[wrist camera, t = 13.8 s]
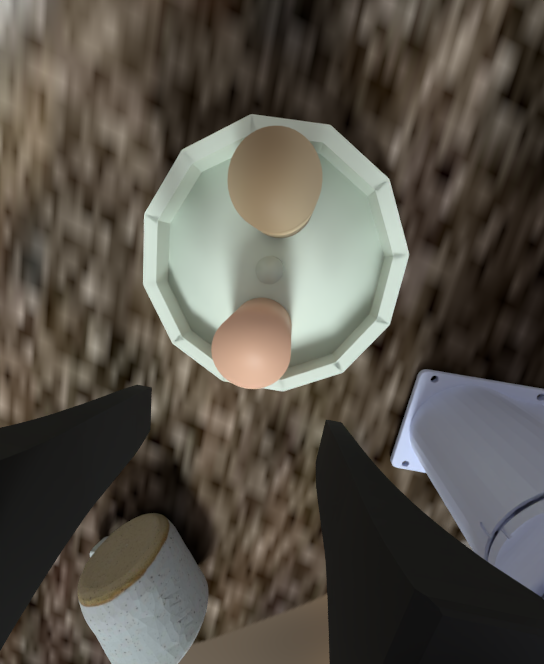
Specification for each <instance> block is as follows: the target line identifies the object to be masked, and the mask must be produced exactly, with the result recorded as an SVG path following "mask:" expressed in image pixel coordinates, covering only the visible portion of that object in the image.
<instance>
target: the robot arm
mask: <svg viewBox="0 0 544 664" xmlns="http://www.w3.org/2000/svg"><path fill="white" fill-rule="evenodd" d="M433 376H436V378H435V379H434V380H431V378H432V377H433ZM151 392H152V388H151V387H146V386H141V385H135V386H132V387H128V388H125V389H123V390H120V391H117V392H114V393H112V394H109V395H106V396H103V397H101V398H98V399H95V400H93V401H90V402H87V403H84V404H81V405H78V406H75V407H72V408H69V409H66V410H64V411H61V412H58V413H55V414H51V415H48V416H45V417H41V418H38V419H34V420H30V421H26V422H23V423H19V424H15V425H11V426H6V427H2V428H0V650H1V648H2V647H3V645H4V643H5V642H6V640H7V638H8V636H9V635H10V633H11V631H12V630H13V628H14V626H15V624H16V623H17V621H18V620H19V618H20V616H21V615H22V613H23V611H24V610H25V608H26V607H27V605H28V603H29V602H30V600H31V598H32V597H33V595H34V594H35V592H36V590H37V589H38V587H39V586H40V584H41V582H42V581H43V579H44V577H45V576H46V574H47V573H48V571H49V570H50V568H51V567H52V565H53V564H54V562H55V561H56V559H57V557H58V556H59V554H60V553H61V551H62V550H63V548H64V547H65V545H66V544H67V542H68V541H69V539H70V538H71V536H72V535H73V533H74V532H75V531H76V529H77V528H78V526H79V525H80V523H81V522H82V520H83V519H84V517H85V516H86V515H87V513H88V512H89V511H90V509H91V508H92V507H93V505H94V504H95V503H96V501H97V500H98V499H99V498H100V497H101V495H102V494H103V493H104V492H105V490H106V489H107V488H108V487H109V486H110V484H111V483H112V482H113V481H114V480H115V478H116V477H117V476H118V475H119V473H120V472H121V471H122V470H123V469H124V467H125V466H126V465H127V464H128V462H129V461H130V460H131V459H132V457H133V456H134V455H135V454H136V452H137V451H138V449H139V448H140V446H141V445H142V443H143V441H144V440H145V438H146V436H147V435H148V433H149V431H150V423H151ZM539 394H540V396H539V397H537V396H538V395H539ZM390 461H391V463H392V465H393V466H394V467H397V468H402V469H408V470H413V471H419V472H424V473H427V475H428V476H429V478H430V480H431V481H432V483H433V485H434V486H435V488H436V490H437V491H438V493H439V495H440V496H441V498H442V500H443V501H444V503H445V505H446V506H447V508H448V510H449V511H450V513H451V515H452V516H453V518H454V520H455V521H456V523H457V525H458V526H459V528H460V530H461V531H462V533H463V535H464V536H465V538H466V540H467V541H468V543H469V545H470V546H471V548H472V550H473V551H474V552H473V551H472V550H471V549H469V548H468V547H466V546H465V545H464V544H462V543H461V542H460V541H458V540H457V539H456V538H454V537H453V536H452V535H451V534H449V533H448V532H447V531H445V530H444V529H443V528H442V527H440V526H439V525H438V524H437V523H436V522H434V521H433V520H432V519H431V518H430V517H428V516H427V515H426V514H425V513H424V512H422V511H421V510H420V509H419V508H418V507H417V506H416V505H414V504H413V503H412V502H411V501H410V500H409V499H408V498H407V497H406V496H405V495H404V494H403V493H402V492H401V491H400V490H399V489H398V488H397V487H396V486H395V485H394V484H393V483H392V482H391V481H390V480H389V479H388V478H387V477H386V476H385V475H384V474H383V473H382V472H381V471H380V469H379V468H378V467H377V466H376V465H375V464H374V463H373V462H372V460H371V459H370V458H369V457H368V456H367V454H366V453H365V452H364V451H363V450H362V448H361V447H360V446H359V445H358V443H357V442H356V441H355V439H354V438H353V437H352V435H351V434H350V433H349V432H348V430H347V429H346V428H345V426H344V425H343V424H342V423H341V422H336V421H331V420H326V422H325V426H324V430H323V434H322V438H321V443H320V447H319V451H318V455H317V459H316V489H317V497H318V505H319V512H320V520H321V527H322V534H323V542H324V549H325V559H326V574H327V595H328V619H329V620H328V622H329V653H330V664H544V389H542V388H536V387H530V386H524V385H518V384H512V383H506V382H500V381H494V380H489V379H483V378H477V377H471V376H465V375H459V374H453V373H447V372H441V371H435V370H429V369H424V370H421V371H420V372H419V373H418V375H417V378H416V381H415V385H414V388H413V391H412V394H411V397H410V400H409V403H408V406H407V409H406V412H405V415H404V418H403V421H402V424H401V427H400V430H399V433H398V437H397V440H396V443H395V446H394V449H393V452H392V455H391V458H390ZM403 461H406V462H405V463H402V462H403Z"/></svg>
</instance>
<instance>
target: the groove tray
mask: <svg viewBox="0 0 544 664" xmlns="http://www.w3.org/2000/svg"><path fill="white" fill-rule="evenodd" d="M267 126H285V127H289V128H291V129H294V130H296V131H298V132H299V133H301V134H302V135H303V136H305V137H306V138H307V139H308V140H309V141H310V143H311V144H312V145H313V147H314V148H315V150H316V152H317V154H318V156H319V159H320V163H321V167H322V188H321V192H320V196H319V199H318V201H317V204H316V206H315V209H314V211H313V213H312V216H311V218H310V220H309V222H308V223H307V225H306V226H305V227H304V228H303V229H302V230H301V231H300V232H298V233H297V234H295V235H293V236H290V237H287V238H274V237H270V236H267V235H266V234H264V233H262V232H261V231H259V230H258V229H256V228H255V227H253V226H252V225H250V224H249V223H248V222H246V221H245V220H244V219H243V218H242V217H241V216H240V215H239V213H238V212H237V211H236V209H235V207H234V205H233V203H232V201H231V198H230V195H229V190H228V182H227V179H228V169H229V165H230V161H231V158H232V156H233V154H234V152H235V150H236V148H237V147H238V146H239V144H240V143H241V142H242V141H243V140H244V139H245V138H246V137H247V136H248V135H249V134H251V133H252V132H254V131H256V130H258V129H260V128H263V127H267ZM408 257H409V252H408V248H407V244H406V240H405V236H404V233H403V229H402V225H401V221H400V217H399V214H398V210H397V206H396V202H395V198H394V195H393V191H392V187H391V183H390V179H389V178H388V177H387V176H385V175H384V174H383V173H382V172H381V171H380V170H379V169H378V168H377V167H376V166H375V165H374V164H372V163H371V162H370V161H369V160H368V159H367V158H366V157H365V156H364V155H363V154H362V153H360V152H359V151H358V150H357V149H356V148H355V147H354V146H353V145H352V144H351V143H350V142H349V141H347V140H346V139H345V138H344V137H343V136H342V135H341V134H340V133H339V132H338V131H337V130H335V129H334V128H333V127H332V126H331V125H328V124H321V123H314V122H306V121H299V120H292V119H284V118H277V117H269V116H262V115H255V114H250V115H248V116H246V117H244V118H243V119H241V120H239V121H237V122H235V123H233V124H231V125H229V126H227V127H225V128H223V129H221V130H219V131H217V132H215V133H213V134H211V135H210V136H208V137H206V138H204V139H202V140H200V141H198V142H196V143H194V144H192V145H190V146H188V147H186V148H184V149H182V150H181V152H180V154H179V156H178V157H177V159H176V161H175V162H174V164H173V166H172V168H171V169H170V171H169V173H168V174H167V176H166V178H165V180H164V181H163V183H162V185H161V186H160V188H159V190H158V192H157V193H156V195H155V197H154V198H153V200H152V202H151V204H150V205H149V207H148V209H147V210H146V212H145V214H144V264H143V285H144V287H145V289H146V291H147V293H148V295H149V297H150V299H151V301H152V303H153V305H154V307H155V309H156V311H157V313H158V315H159V317H160V319H161V321H162V323H163V325H164V327H165V329H166V331H167V333H168V335H169V337H170V339H171V341H172V343H173V344H174V345H175V346H176V347H178V348H179V349H181V350H182V351H183V352H185V353H186V354H187V355H189V356H190V357H191V358H193V359H194V360H195V361H197V362H198V363H199V364H201V365H202V366H203V367H205V368H206V369H207V370H209V371H210V372H211V373H213V374H214V375H215V376H217V377H218V378H219V379H221V380H222V381H226V382H229V381H228V380H226V379H225V378H224V377H223V376H222V375H221V374H220V372H219V371H218V370H217V368H216V366H215V364H214V361H213V358H212V352H211V346H212V340H213V337H214V335H215V333H216V331H217V330H218V328H219V327H220V326H221V325H222V324H223V323H224V322H225V321H226V320H227V319H228V318H229V317H230V316H231V315H232V314H233V313H234V312H235V311H236V310H237V309H238V308H239V307H240V306H241V305H242V304H244V303H245V302H247V301H249V300H251V299H254V298H269V299H272V300H274V301H276V302H278V303H279V304H281V305H282V306H283V307H284V308H285V309H286V311H287V312H288V314H289V316H290V319H291V324H292V334H291V357H290V362H289V365H288V368H287V370H286V371H285V373H284V374H283V376H282V377H281V378H280V379H279V380H278V381H276V382H275V383H273V384H271V385H269V386H267V387H263V388H266V389H272V390H277V391H286V390H289V389H292V388H295V387H299V386H302V385H305V384H308V383H311V382H314V381H318V380H321V379H324V378H327V377H330V376H334V375H337V374H340V373H343V372H344V371H345V370H346V369H347V368H348V367H349V366H350V365H351V364H352V363H353V362H354V361H355V360H356V359H357V358H358V357H359V355H360V354H361V353H362V352H363V351H364V350H365V349H366V348H367V347H368V346H369V345H370V344H371V343H372V342H373V341H374V340H375V339H376V338H377V337H378V336H379V335H380V334H381V333H382V332H383V331H384V330H385V329H386V328H387V327H388V326H389V325H390V322H391V318H392V315H393V311H394V307H395V304H396V300H397V297H398V293H399V290H400V286H401V282H402V279H403V275H404V272H405V268H406V264H407V261H408Z"/></svg>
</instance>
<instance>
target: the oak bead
mask: <svg viewBox="0 0 544 664" xmlns="http://www.w3.org/2000/svg"><path fill="white" fill-rule="evenodd" d="M227 182H228V190H229V195H230V198H231V201H232V203H233V205H234V207H235V209H236V211H237V212H238V213H239V215H240V216H241V217H242V218H243V219H244V220H245V221H246V222H248V223H249V224H250V225H252V226H253V227H255V228H256V229H258V230H259V231H261V232H262V233H264V234H266V235H267V236H270V237H274V238H287V237H290V236H293V235H295V234H297V233H298V232H300V231H301V230H302V229H303V228H304V227H305V226H306V225H307V223H308V222H309V220H310V218H311V216H312V213H313V211H314V209H315V206H316V204H317V201H318V199H319V196H320V192H321V188H322V167H321V163H320V159H319V156H318V154H317V152H316V150H315V148H314V147H313V145H312V144H311V143H310V141H309V140H308V139H307V138H306V137H305V136H303V135H302V134H301V133H299V132H298V131H296V130H294V129H291V128H289V127H285V126H267V127H263V128H260V129H258V130H256V131H254V132H252V133H251V134H249V135H248V136H247V137H246V138H245V139H244V140H243V141H242V142H241V143H240V144H239V146H238V147H237V148H236V150H235V152H234V154H233V156H232V158H231V161H230V165H229V169H228V179H227Z"/></svg>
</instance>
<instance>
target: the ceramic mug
mask: <svg viewBox="0 0 544 664" xmlns="http://www.w3.org/2000/svg"><path fill="white" fill-rule="evenodd" d="M78 598H79V603H80V606H81V610H82V613H83V615H84V618H85V620H86V622H87V623H88V625H89V627H90V628H91V630H92V631H93V632H94V634H95V635H96V637H97V639H98V640H99V642H100V644H101V646H102V648H103V649H104V651H105V653H106V655H107V656H108V658H109V660H110V662H111V663H112V664H178V663H179V661H180V660H181V659H182V658H183V656H184V655H185V654H186V652H187V651H188V650H189V648H190V647H191V645H192V643H193V642H194V640H195V638H196V636H197V634H198V632H199V630H200V627H201V625H202V622H203V620H204V616H205V613H206V609H207V603H208V585H207V582H206V579H205V576H204V575H203V573H202V571H201V570H200V568H199V566H198V565H197V563H196V561H195V560H194V558H193V556H192V554H191V553H190V551H189V550H188V548H187V547H186V545H185V543H184V542H183V540H182V538H181V536H180V535H179V533H178V531H177V530H176V528H175V526H174V525H173V524H172V523H171V522H170V521H169V520H168V519H167V518H166V517H165V516H164V515H162V514H158V513H148V514H144V515H141V516H139V517H136V518H134V519H132V520H130V521H128V522H127V523H125V524H124V525H122V526H121V527H119V528H118V529H117V530H116V531H114V532H113V533H112V534H111V535H110V536H106V537H104V538H103V539H102V540H101V541H100V542H99V543H98V544H97V545H96V546H95V547H94V548H93V549H92V550H91V551H90V559H89V561H88V562H87V564H86V566H85V568H84V570H83V572H82V574H81V577H80V580H79V584H78Z"/></svg>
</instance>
